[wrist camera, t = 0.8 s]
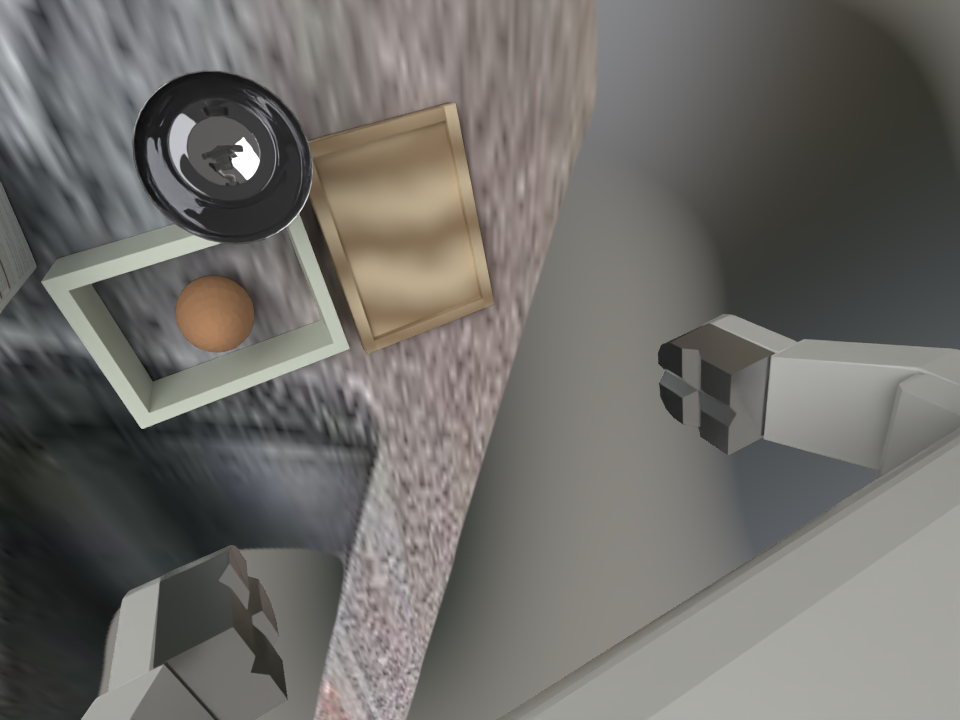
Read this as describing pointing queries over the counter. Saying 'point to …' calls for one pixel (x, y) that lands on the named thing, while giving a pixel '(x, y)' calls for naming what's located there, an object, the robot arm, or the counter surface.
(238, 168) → the wine glass
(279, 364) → the bin
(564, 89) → the counter surface
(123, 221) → the counter surface
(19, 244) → the supplement box
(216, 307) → the egg
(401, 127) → the tray
